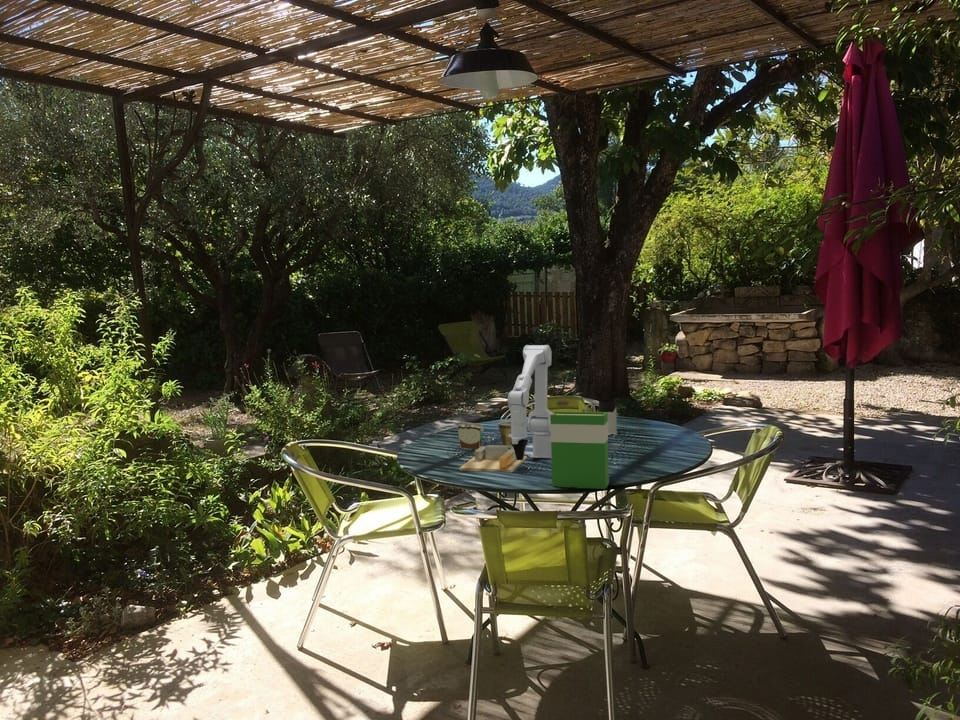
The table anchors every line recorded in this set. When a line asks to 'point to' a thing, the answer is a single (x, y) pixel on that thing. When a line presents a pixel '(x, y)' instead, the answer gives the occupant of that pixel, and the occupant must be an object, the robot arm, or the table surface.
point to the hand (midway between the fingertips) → (519, 459)
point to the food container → (470, 435)
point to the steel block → (495, 451)
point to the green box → (580, 449)
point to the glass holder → (611, 409)
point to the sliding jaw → (507, 458)
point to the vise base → (488, 463)
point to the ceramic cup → (505, 433)
